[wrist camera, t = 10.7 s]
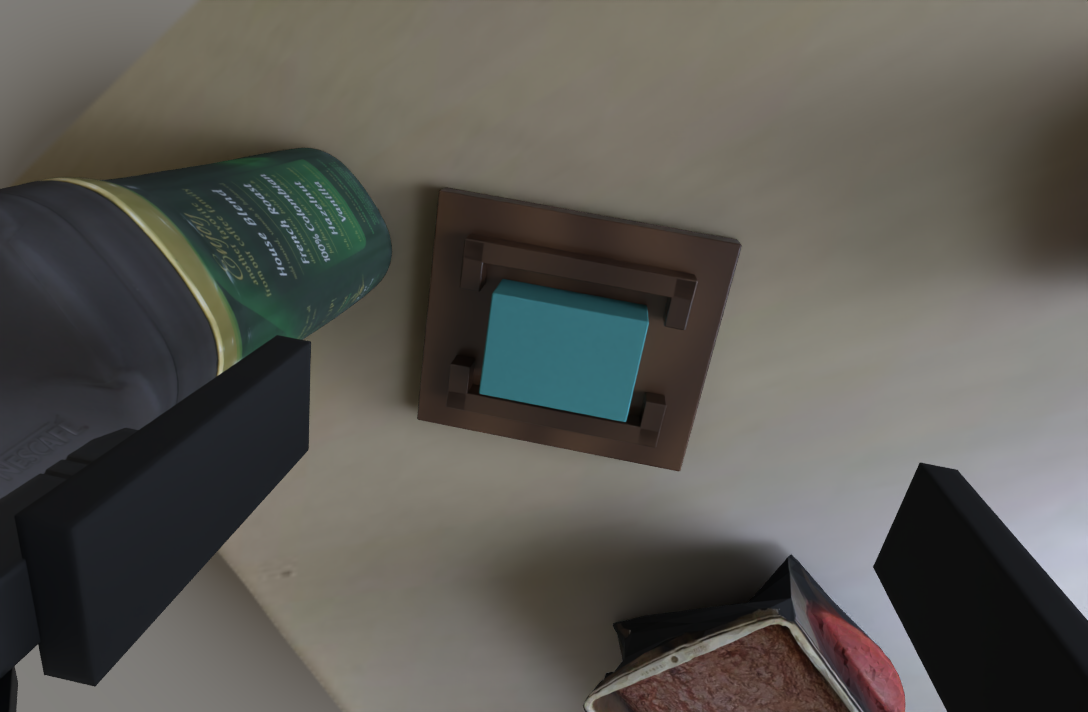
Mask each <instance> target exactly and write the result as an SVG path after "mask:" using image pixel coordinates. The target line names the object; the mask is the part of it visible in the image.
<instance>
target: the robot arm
mask: <svg viewBox="0 0 1088 712" xmlns="http://www.w3.org/2000/svg"><path fill="white" fill-rule="evenodd" d="M310 360H311V342H310V341H305V340H300V339H295V338H290V337H285V336H280V335H276V336H275V337H274V338H272V339H271V340H269V341H268V342H266V343H265V344H263V345H262V346H260V347H259V348H258V349H256V350H255V351H253V352H252V353H250V354H249V355H247V356H246V357H244V358H243V359H241V360H240V361H239V362H237V363H236V364H234V365H233V366H231V367H230V368H228V369H227V370H225V371H224V372H223V373H221V374H220V375H218V376H217V377H215V378H214V379H212V380H211V381H209V382H208V383H207V384H205V385H204V386H202V387H201V388H199V389H198V390H196V391H195V392H193V393H192V394H190V395H189V396H188V397H186V398H185V399H183V400H182V401H180V402H179V403H177V404H176V405H174V406H173V407H172V408H170V409H169V410H167V411H166V412H164V413H163V414H161V415H160V416H158V417H157V418H155V419H154V420H153V421H151V422H150V423H148V424H147V425H145V426H144V427H142V428H141V429H139V430H135V429H130V428H123V429H120V430H118V431H115V432H112V433H109V434H106V435H104V436H101V437H98V438H95V439H93V440H91V441H89V442H88V443H86V444H85V445H83V446H82V447H80V448H79V449H77V450H76V451H74V452H72V453H71V454H69V455H68V456H67V458H66V460H63V459H62V460H60V461H58V462H57V463H55V464H54V465H52V466H51V467H49V468H48V469H46V471H45V473H44V474H41V473H40V474H38V475H37V476H35V477H34V478H32V479H31V480H29V481H27V482H26V483H24V484H23V485H21V486H20V487H18V488H17V489H15V490H13V491H12V492H10V493H9V494H7V495H6V496H4V497H3V498H1V499H0V712H16V705H17V690H18V680H17V676H16V671H15V665H16V664H17V663H18V662H19V661H20V660H21V659H22V658H24V657H25V656H26V655H27V654H28V653H29V652H30V651H31V650H32V649H33V648H34V647H35V646H36V645H39V650H40V656H41V661H42V666H43V672H44V675H48V676H52V677H57V678H61V679H66V680H70V681H74V682H78V683H82V684H87V685H91V686H96V685H97V684H98V683H99V682H100V680H102V678H103V677H104V676H105V675H106V674H107V673H108V672H109V671H110V670H111V668H112V667H113V666H114V665H115V664H116V663H117V662H118V661H119V659H120V658H121V657H122V656H123V655H124V654H125V653H126V652H127V651H128V649H129V648H130V647H131V646H132V645H133V644H134V643H135V642H136V641H137V640H138V638H139V637H140V636H141V635H142V634H143V633H144V632H145V630H147V628H148V627H149V626H150V625H151V624H152V623H153V622H154V621H155V619H157V617H158V616H159V615H160V614H161V613H162V612H163V611H164V610H165V609H166V607H167V606H168V605H169V604H170V603H171V602H172V601H173V599H174V598H175V597H176V596H177V595H178V594H179V593H180V592H181V591H182V590H183V588H184V587H185V586H186V585H187V584H188V583H189V582H190V581H191V579H193V577H194V576H195V575H196V574H197V573H198V572H199V571H200V570H201V568H202V567H203V566H204V565H205V564H206V563H207V562H208V561H209V560H210V558H211V557H212V556H213V555H214V554H215V553H216V552H217V551H218V550H219V549H220V548H221V546H222V545H223V544H224V543H225V542H226V541H227V540H228V539H229V538H230V536H231V535H232V534H233V533H234V532H235V531H236V530H237V529H238V528H239V526H240V525H241V524H242V523H243V522H244V521H245V520H246V519H247V518H248V516H249V515H250V514H251V513H252V512H253V511H254V510H255V509H256V508H257V506H258V505H259V504H260V503H261V502H262V501H263V500H264V499H265V498H266V496H267V495H268V494H269V493H270V492H271V491H272V490H273V489H274V488H275V486H276V485H277V484H278V483H279V482H280V481H281V480H282V479H283V478H284V476H285V475H286V474H287V473H288V472H289V471H290V470H291V469H292V468H293V467H294V465H295V464H296V463H297V462H298V461H299V460H300V459H301V458H302V457H303V455H304V454H305V453H306V452H307V451H308V449H309V405H310ZM873 568H874V570H875V572H876V573H877V575H878V577H879V579H880V581H881V583H882V585H883V587H884V589H885V591H886V593H887V595H888V597H889V599H890V601H891V603H892V605H893V607H894V609H895V611H896V613H897V615H898V616H899V618H900V620H901V622H902V624H903V626H904V628H905V630H906V632H907V634H908V636H909V638H910V640H911V642H912V644H913V646H914V648H915V650H916V652H917V654H918V656H919V658H920V659H921V661H922V663H923V665H924V667H925V669H926V671H927V673H928V675H929V677H930V679H931V681H932V683H933V685H934V687H935V689H936V691H937V693H938V695H939V697H940V699H941V700H942V702H943V704H944V706H945V708H946V710H947V712H1088V620H1087V619H1086V618H1085V617H1084V616H1083V615H1082V613H1081V612H1080V611H1079V610H1078V609H1077V608H1076V606H1075V605H1074V604H1073V603H1072V602H1071V601H1070V599H1069V598H1068V597H1067V596H1066V595H1065V594H1064V593H1063V591H1062V590H1061V589H1060V588H1059V587H1058V586H1057V584H1056V583H1055V582H1054V581H1053V580H1052V579H1051V578H1050V576H1049V575H1048V574H1047V573H1046V572H1045V571H1044V569H1043V568H1042V567H1041V566H1040V565H1039V564H1038V563H1037V561H1036V560H1035V559H1034V558H1033V557H1032V556H1031V554H1030V553H1029V552H1028V551H1027V550H1026V549H1025V548H1024V546H1023V545H1022V544H1021V543H1020V542H1019V541H1018V539H1017V538H1016V537H1015V536H1014V535H1013V534H1012V533H1011V531H1010V530H1009V529H1008V528H1007V527H1006V526H1005V524H1004V523H1003V522H1002V521H1001V520H1000V519H999V518H998V516H997V515H996V514H995V513H994V512H993V511H992V509H991V508H990V507H989V506H988V505H987V504H986V503H985V501H984V500H983V499H982V498H981V497H980V496H979V494H978V493H977V492H976V491H975V490H974V489H973V487H972V486H971V485H970V484H969V483H968V482H967V481H966V479H965V478H964V477H963V476H962V475H961V474H960V472H959V471H958V470H955V469H950V468H945V467H940V466H935V465H930V464H925V463H919V466H918V468H917V470H916V472H915V475H914V477H913V479H912V481H911V484H910V486H909V488H908V490H907V492H906V495H905V497H904V499H903V501H902V504H901V506H900V508H899V510H898V513H897V515H896V517H895V519H894V522H893V524H892V526H891V528H890V531H889V533H888V535H887V537H886V539H885V542H884V544H883V546H882V548H881V551H880V553H879V555H878V557H877V560H876V562H875V564H874V566H873Z"/></svg>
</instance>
